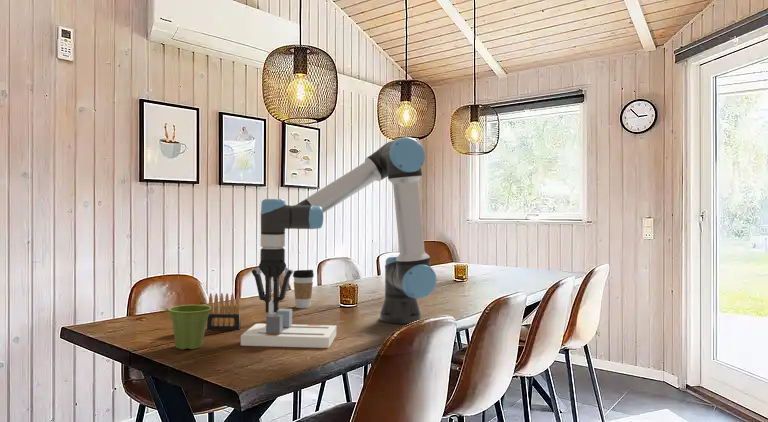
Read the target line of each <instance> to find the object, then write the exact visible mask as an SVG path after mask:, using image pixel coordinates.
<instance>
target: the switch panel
mask: <svg viewBox="0 0 768 422" xmlns="http://www.w3.org/2000/svg"><path fill="white" fill-rule="evenodd" d="M336 336H337V325H330V324H329V325H328V324H327V325H326V324H325V325H324V324H295V323H294V324H293V323H292V325H291V326H290V327H283V331H282V332H281V333H280V334H266V323H255V324H254V325H252V326H251V327H250V328H248V329H247V330H246V331H244V332H243V333H242V334H241V335H240V346H241V347H242V346H247V347H249V346H250V347H251V346H252V347H277V348H278V347H281V348H283V347H284V348H285V347H287V348H321V349H322V348H323V349H329V348H330V346H331V345H332V343H333V341H334V340H335V338H336Z"/></svg>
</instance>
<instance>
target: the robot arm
mask: <svg viewBox="0 0 768 422" xmlns="http://www.w3.org/2000/svg"><path fill="white" fill-rule="evenodd" d="M425 161H426V151H425V149H424V147H423V146H422V144H421V143H420V142H419V141H418V140H416V139H415V138H412V137H408V136H407V137H399V138H395V139H394V140H391V141H388V142H386V143H384V144H383V145H382V146H381V147H379V148H378V149H377V150H375V152H373V153H372V154H370V155H369V156H367V157H366V158H364V162H363V163H361V164H360V165H358V166H356V167H354V168H353V169H352V170H350V171H348V172H347V173H345V174H343V175H342V176H341V177H339V178H337V179H335V180H333V181H332V182H330V183H329V184H327V185H326V186H324V187H322V188H320V189H319V190H318V191H316V192H315V193H312V194H311V195H309V196H308V197H306V198H305V199H304V200H301V201H300V202H298V203H296V204H293V205H289V204H287V202H286V200H285V199H284V198H264V199H263V200H262V201H261V204H260V205H261V207H260V247H262V248H261V249H260V252H259V253H260V261H259V264H258V266H257V267H256V268H255V269H252V270H251V273H252V275H253V277H254V279H255V285H256V288H257V292H258V293H257V294H258V297H259V300H260V301H263V302H265V312H266V313H268V315H269V314H276V313H277V310H279V309H280V308H279V307H280V306H279V305H280V304H279V303H280V302H281V301H283V300H284V299H285V297H286V293H287V289H288V285H289V283H290V278H291V276H293V273H294V270H293V269H290V268H288V267H287V264H286V261H285V260H286V258H285V257H286V250H285V248H284V247H285V246H286V230H290V229H293V230H294V229H295V230H315V229H316V230H319V229H321V228H322V227H323V224H324V213H326V212H328V211H329V210H331V209H333V208H334V207H336V206H337V205H339V204H341V203H342V202H344V201H345V200H347V199H349V198H350V197H351V196H353V195H355V194H357V193H358V192H359V191H361V190H363V189H364V188H367V187H368V186H369V185H371V184H372V183H374V182H375V181H377V182H380V181H382V180H384V179H386V178H387V180H388V181H389V182H390V183H391V184H392V187H393V198H394V207H395V209H394V210H395V218H396V220H395V221H396V228H397V229H396V230H397V239H398V249H399V250H398V251H399V254H398V256H391V257H390V256H388V257H387V258H386V259H385V264H384V269H385V270H384V271H385V273H384V287H385V288H384V299H383V303H382V307H381V309H380V312H379V320H380V321H381V322H384V323H390V324H400V325H401V324H411V323H410V322H414V321H417V320H420V319H421V320H422V312H421V309H420V305H419V302H418V299H424V298H426V297H428V296H429V295H430V294H432V292H434V290H435V287H436V286H437V281H438V280H437V274H436V272H435V270H434V268H432V267H431V257H430V255H429V254H428V253H427V252H426V251H425V241H424V240H425V239H424V230H423V220H422V209H421V208H422V207H421V200H420V199H421V197H420V190H419V189H420V188H419V182H420V180H421V178H423V171H422V167H423V165H424V163H425ZM261 273H262V274H263V276H264V279H265V280H264V281H265V283H264V285H265V289H264V285H263V279H262V276H261ZM282 274H284V278H283V282H282V285H281V289H280V279H281V275H282ZM272 280H273V289H272ZM272 290H273V292H272ZM272 293H273V294H272ZM272 295H273V298H272ZM272 299H273V300H272Z"/></svg>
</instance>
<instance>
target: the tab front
mask: <svg viewBox="0 0 768 422" xmlns="http://www.w3.org/2000/svg"><path fill="white" fill-rule="evenodd" d="M265 321H266V322H265V324H266V334H280V333H281V332H282V331H283V314H277V313H275V314H269V313H268V315H267V316H266V319H265Z"/></svg>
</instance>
